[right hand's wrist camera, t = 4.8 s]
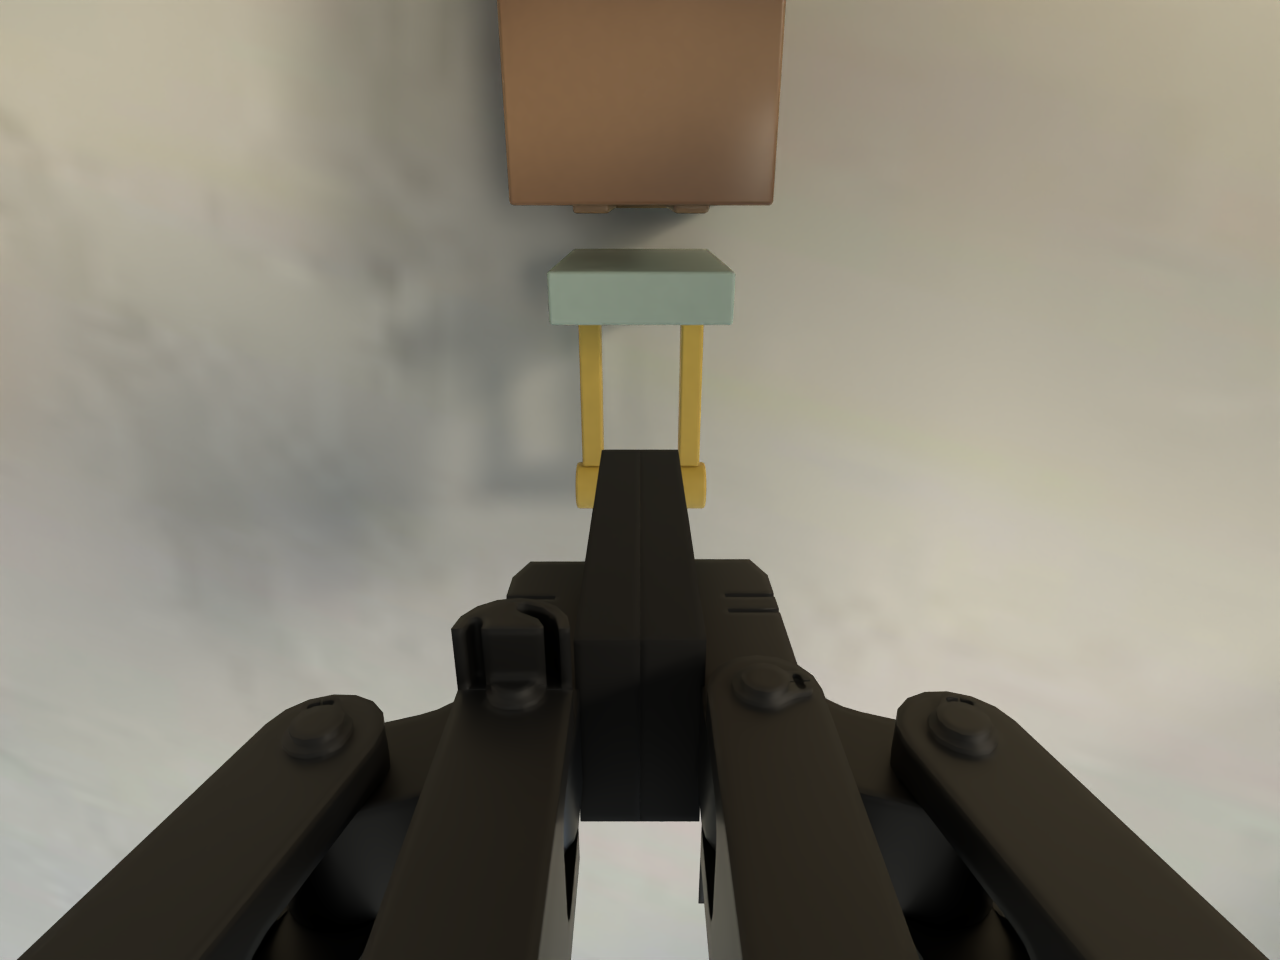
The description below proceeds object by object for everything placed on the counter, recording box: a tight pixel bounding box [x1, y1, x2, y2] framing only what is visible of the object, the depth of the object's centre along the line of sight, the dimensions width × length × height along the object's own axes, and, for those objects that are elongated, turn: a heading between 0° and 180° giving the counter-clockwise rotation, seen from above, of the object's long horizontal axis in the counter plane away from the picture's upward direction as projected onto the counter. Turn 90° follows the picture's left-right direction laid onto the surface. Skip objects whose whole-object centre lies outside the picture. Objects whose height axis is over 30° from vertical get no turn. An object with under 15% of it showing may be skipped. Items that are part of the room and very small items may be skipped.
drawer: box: [547, 205, 735, 508], centre depth 17 cm, size 25×4×7 cm, turn 0°
